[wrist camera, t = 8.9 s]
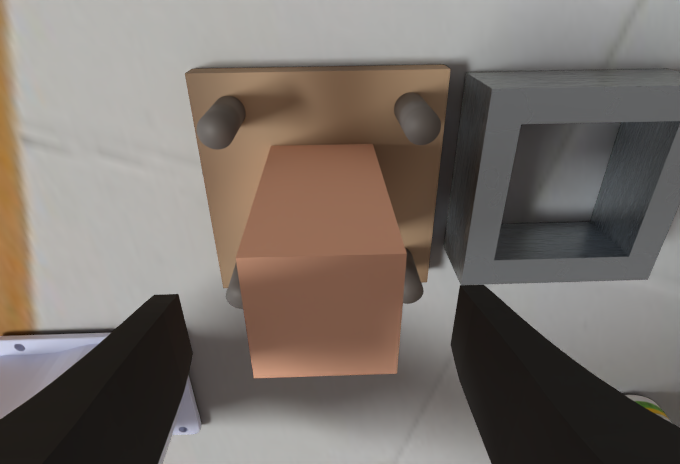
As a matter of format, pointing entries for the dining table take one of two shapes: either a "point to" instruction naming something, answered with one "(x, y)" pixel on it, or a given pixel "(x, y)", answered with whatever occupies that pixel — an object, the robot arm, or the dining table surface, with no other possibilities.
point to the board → (320, 142)
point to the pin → (322, 265)
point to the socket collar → (615, 194)
